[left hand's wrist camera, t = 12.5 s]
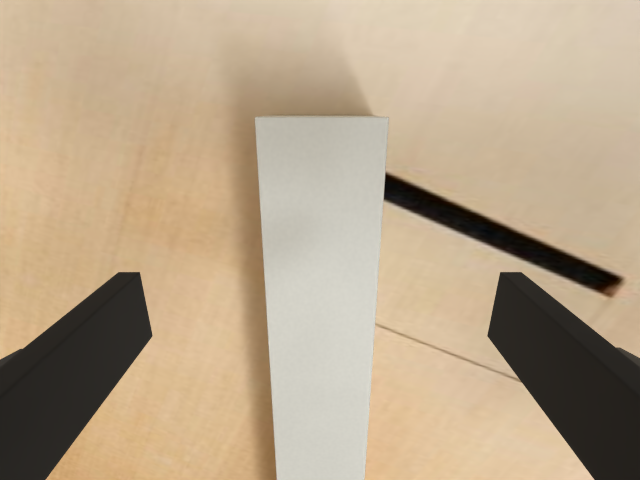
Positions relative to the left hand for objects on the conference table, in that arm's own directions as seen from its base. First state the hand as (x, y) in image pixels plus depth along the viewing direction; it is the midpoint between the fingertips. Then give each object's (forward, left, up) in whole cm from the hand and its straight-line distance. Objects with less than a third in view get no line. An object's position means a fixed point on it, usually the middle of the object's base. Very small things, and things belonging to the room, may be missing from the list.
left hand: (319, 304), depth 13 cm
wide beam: (+17, +30, -22) cm, 41 cm away
